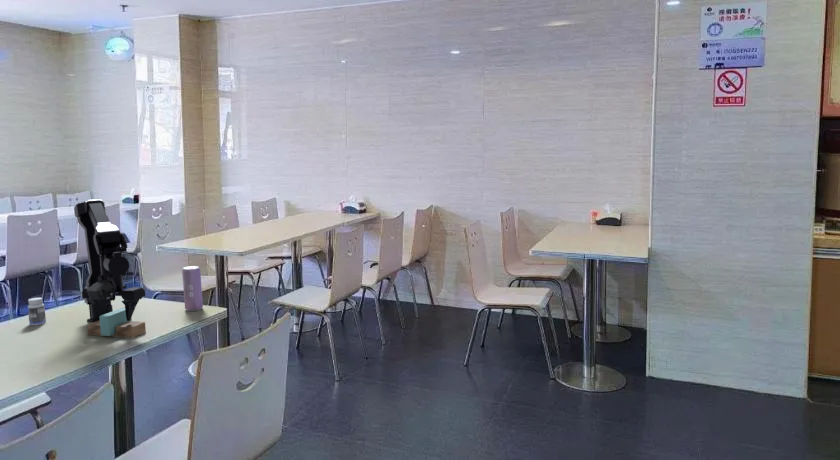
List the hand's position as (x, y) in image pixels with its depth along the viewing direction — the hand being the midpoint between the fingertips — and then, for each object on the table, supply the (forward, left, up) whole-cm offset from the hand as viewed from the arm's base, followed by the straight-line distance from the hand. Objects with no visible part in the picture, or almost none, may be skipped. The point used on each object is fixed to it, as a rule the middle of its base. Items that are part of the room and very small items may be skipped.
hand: (116, 320), depth 196 cm
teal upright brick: (0, 0, -4) cm, 4 cm away
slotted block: (0, 0, -4) cm, 4 cm away
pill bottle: (-35, +5, -4) cm, 36 cm away
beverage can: (+7, +30, -4) cm, 31 cm away
